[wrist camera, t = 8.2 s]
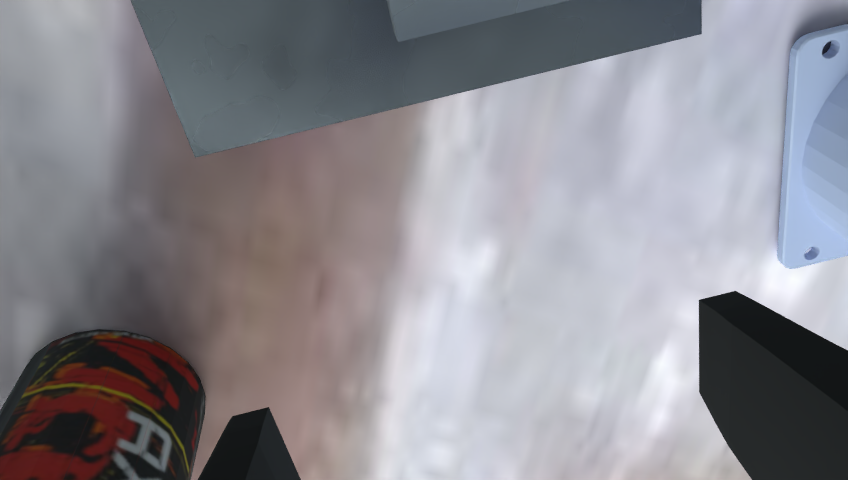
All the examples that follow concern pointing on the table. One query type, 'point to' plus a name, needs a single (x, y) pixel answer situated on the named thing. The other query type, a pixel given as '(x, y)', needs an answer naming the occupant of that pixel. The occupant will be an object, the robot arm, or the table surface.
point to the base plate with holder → (366, 57)
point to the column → (451, 14)
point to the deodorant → (102, 412)
